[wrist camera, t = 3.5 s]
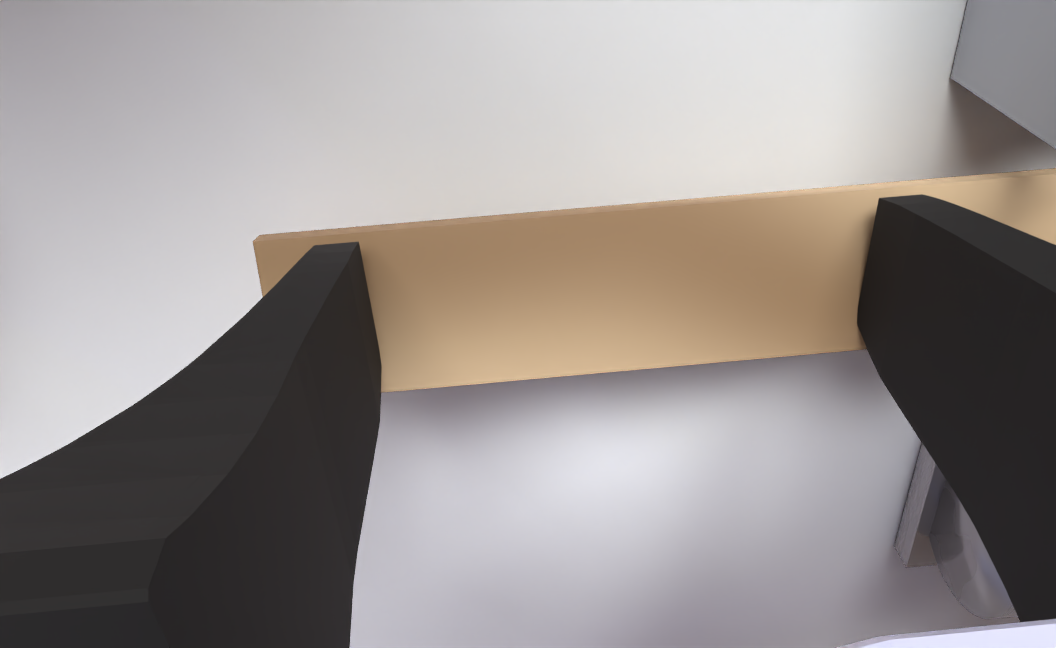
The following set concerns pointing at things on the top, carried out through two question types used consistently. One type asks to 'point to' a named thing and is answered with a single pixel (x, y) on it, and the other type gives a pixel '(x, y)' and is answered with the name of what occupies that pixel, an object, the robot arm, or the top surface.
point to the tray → (1011, 60)
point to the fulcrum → (949, 543)
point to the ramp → (634, 279)
